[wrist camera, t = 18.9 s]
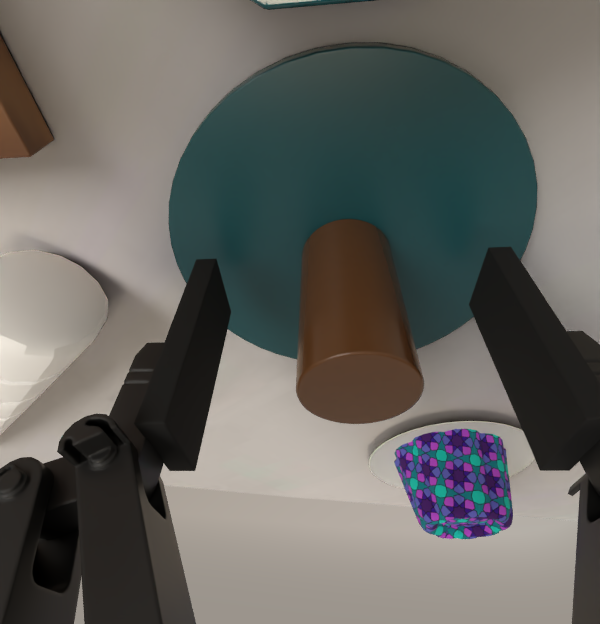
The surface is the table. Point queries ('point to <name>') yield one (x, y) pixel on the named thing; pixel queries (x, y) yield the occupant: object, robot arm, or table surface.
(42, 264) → the unicorn horn
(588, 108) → the table surface
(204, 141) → the lid
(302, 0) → the pot
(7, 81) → the board
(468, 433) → the pudding
